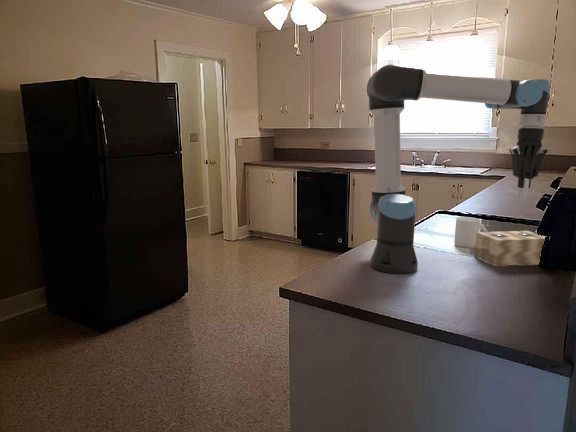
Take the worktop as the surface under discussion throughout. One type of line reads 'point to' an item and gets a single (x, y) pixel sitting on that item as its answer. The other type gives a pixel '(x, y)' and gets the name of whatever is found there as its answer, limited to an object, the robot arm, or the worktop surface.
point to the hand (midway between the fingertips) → (522, 197)
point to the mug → (467, 231)
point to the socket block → (509, 248)
